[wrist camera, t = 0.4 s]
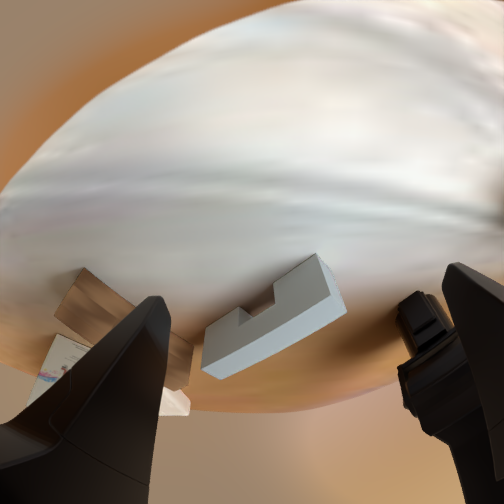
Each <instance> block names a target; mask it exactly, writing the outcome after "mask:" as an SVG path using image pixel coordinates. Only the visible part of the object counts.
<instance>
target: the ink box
mask: <svg viewBox="0 0 504 504" xmlns="http://www.w3.org/2000/svg"><path fill="white" fill-rule="evenodd" d="M90 349H91V348H89V347H86V346H84V345H81V344H79V343H77V342H75V341H73V340H70V339H68V338H66V337H63V336H61V335H59V334H57V335H56V337H55V339H54V341H53V343H52V345H51V347H50V349H49V351H48V354H47V356H46V358H45V360H44V362H43V365H42V367H41V369H40V372H39V374H38V376H37V379H36V381H35V384H34V386H33V389H32V391H31V394H30V396H29V399H28V401H27V404H26V406H27V407H28V406H29V405H30V404H31V403H32V402H34V401H35V400H36V399H37V398H38V397H40V396H41V395H42V394H43V393H44V392H45V391H46V390H48V389H49V388H50V387H51V386H52V385H53V384H54V383H55V382H56V381H57V380H59V379H60V378H61V377H62V376H63V375H64V374H65V373H66V372H67V371H68V370H69V369H71V367H72V366H73V365H74V364H75V363H76V362H77V361H78V360H79V359H80V358H82V357H83V356H84V355H85V354H86V353H87V352H88V351H89V350H90Z"/></svg>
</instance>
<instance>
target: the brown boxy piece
mask: <svg viewBox="0 0 504 504" xmlns="http://www.w3.org/2000/svg"><path fill="white" fill-rule="evenodd" d="M135 308H136V307H134V306H133V305H132V304H130V303H129V302H128V301H126V300H125V299H124V298H122V297H121V296H120V295H118V294H117V293H116V292H114V291H113V290H112V289H110V288H109V287H108V286H107V285H105V284H104V283H103V282H102V281H100V280H99V279H98V278H97V277H95V276H94V275H93V274H92V273H90V272H89V271H88V270H87V269H86V268H84V269H83V270H82V272H81V273H80V275H79V276H78V278H77V279H76V281H75V282H74V284H73V285H72V287H71V288H70V290H69V291H68V293H67V294H66V296H65V298H64V299H63V301H62V302H61V304H60V306H59V307H58V309H57V311H56V312H55V314H54V316H55V317H56V318H57V319H59V320H60V321H61V322H62V323H64V324H65V325H66V326H68V327H69V328H70V329H72V330H73V331H74V332H76V333H77V334H79V335H80V336H81V337H83V338H84V339H86V340H87V341H89V342H90V343H91V344H93V345H95V344H96V343H97V342H99V341H100V340H101V339H102V338H103V337H104V336H105V335H106V334H107V333H108V332H109V331H110V330H112V329H113V328H114V327H115V326H116V325H117V324H118V323H119V322H120V321H121V320H122V319H124V318H125V317H126V316H127V315H128V314H129V313H130V312H131V311H132V310H134V309H135ZM193 349H194V346H193V345H191V344H189V343H188V342H186V341H185V340H183V339H181V338H180V337H178V336H177V335H175V334H174V333H172V332H171V331H170V340H169V352H168V363H167V370H166V376H165V382H164V387H166V388H168V389H170V390H172V391H177V390H179V389H181V388H184V387H186V386H188V383H189V376H190V369H191V362H192V355H193Z"/></svg>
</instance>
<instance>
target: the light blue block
mask: <svg viewBox="0 0 504 504" xmlns="http://www.w3.org/2000/svg"><path fill="white" fill-rule="evenodd" d="M273 288H274V296H275V304H274V305H272V306H271V307H269V308H268V309H266V310H264V311H263V312H261V313H260V314H258V315H256V316H255V317H252V316H251V315H250V314H248V313H247V312H246V311H244V310H243V309H242V308H240V307H239V306H238V307H237V308H235V309H234V310H232V311H231V312H229V313H228V314H226V315H225V316H223V317H222V318H220V319H218V320H217V321H215V322H214V323H212V324H211V325H209V326H208V327H206V329H205V337H204V345H203V353H202V362H201V370H203V371H204V372H206V373H208V374H210V375H212V376H214V377H216V378H218V379H219V380H222V379H224V378H226V377H228V376H231V375H233V374H235V373H237V372H239V371H241V370H243V369H245V368H247V367H249V366H252V365H254V364H256V363H258V362H260V361H262V360H264V359H266V358H267V357H269V356H271V355H273V354H275V353H277V352H279V351H281V350H283V349H285V348H287V347H288V346H290V345H292V344H294V343H296V342H298V341H299V340H301V339H303V338H305V337H307V336H308V335H310V334H312V333H314V332H315V331H317V330H319V329H320V328H322V327H324V326H326V325H327V324H329V323H331V322H332V321H334V320H336V319H337V318H339V317H340V316H342V315H344V314H345V313H347V310H346V307H345V305H344V302H343V299H342V297H341V294H340V291H339V289H338V286H337V284H336V281H335V279H334V276H333V273H332V271H331V270H330V269H329V267H328V266H327V265H326V264H325V263H324V262H323V261H322V259H321V258H320V257H319V256H318V255H317V254H314V255H313V256H312V257H310V258H309V259H307V260H306V261H304V262H303V263H302V264H300V265H299V266H297V267H296V268H294V269H293V270H292V271H290V272H289V273H287V274H286V275H284V276H283V277H281V278H280V279H278V280H277V281H276V282H274V283H273Z"/></svg>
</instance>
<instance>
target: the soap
mask: <svg viewBox="0 0 504 504" xmlns="http://www.w3.org/2000/svg"><path fill="white" fill-rule="evenodd" d="M190 403H191V402H190V400H189V399H188V398H187V397H186V395H185V394H184V393H183V392H182V391H181V390H180V389H179V390H177V391H172V390H170V389H168V388H166V387H163V393H162V398H161V404H160V410H159V416H188V415H189V412H190Z"/></svg>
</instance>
